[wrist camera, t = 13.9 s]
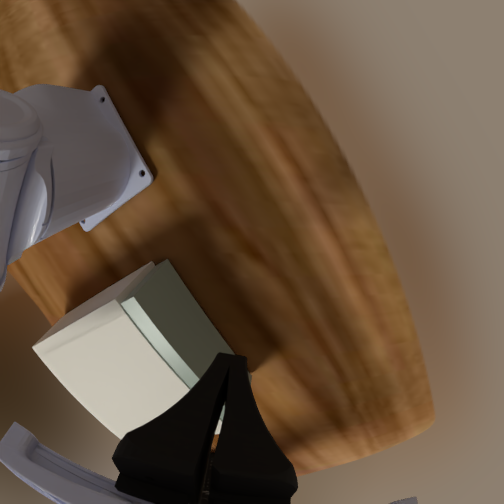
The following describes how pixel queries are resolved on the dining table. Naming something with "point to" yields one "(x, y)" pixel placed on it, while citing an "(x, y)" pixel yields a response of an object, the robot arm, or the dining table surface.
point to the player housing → (112, 361)
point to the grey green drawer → (175, 323)
